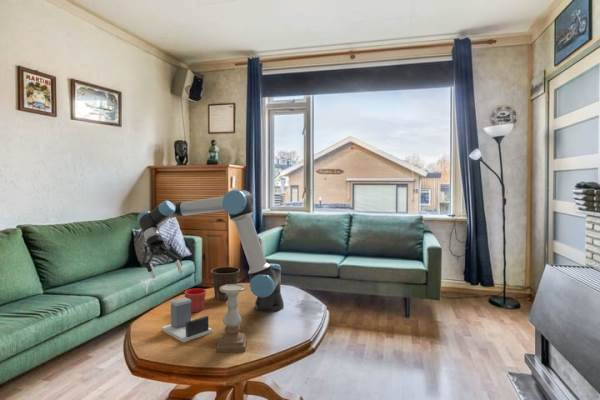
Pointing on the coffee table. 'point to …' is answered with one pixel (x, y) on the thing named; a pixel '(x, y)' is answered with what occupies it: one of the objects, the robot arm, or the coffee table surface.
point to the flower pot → (196, 299)
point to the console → (189, 329)
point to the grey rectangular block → (180, 312)
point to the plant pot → (224, 280)
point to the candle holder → (232, 322)
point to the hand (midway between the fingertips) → (168, 274)
